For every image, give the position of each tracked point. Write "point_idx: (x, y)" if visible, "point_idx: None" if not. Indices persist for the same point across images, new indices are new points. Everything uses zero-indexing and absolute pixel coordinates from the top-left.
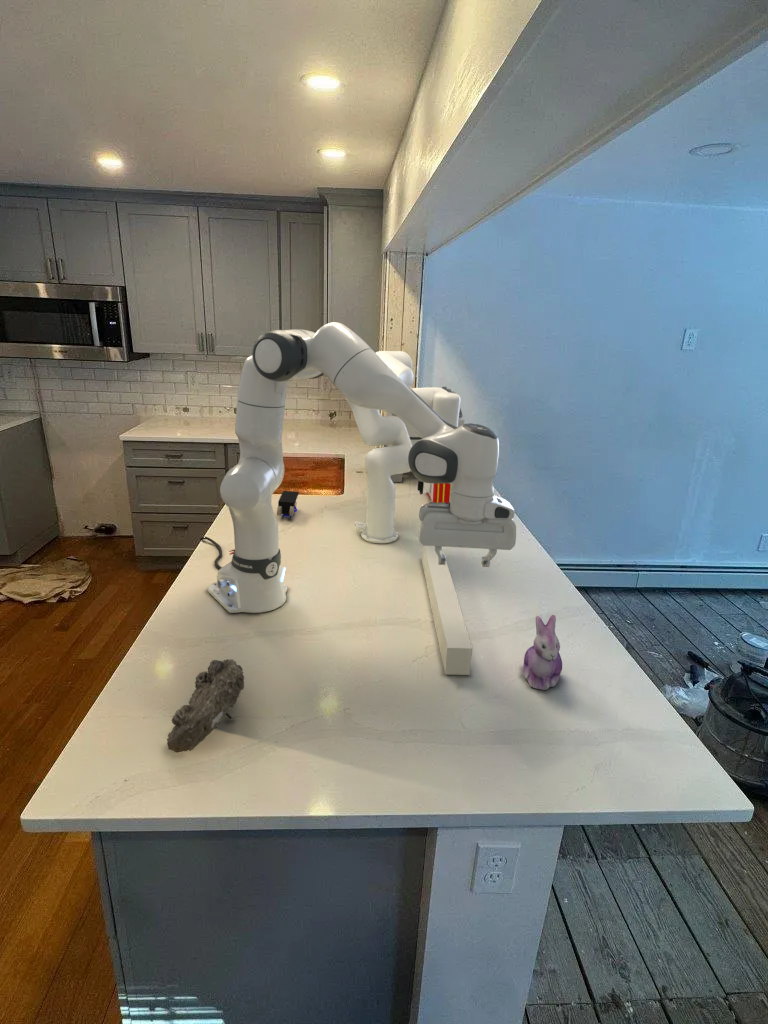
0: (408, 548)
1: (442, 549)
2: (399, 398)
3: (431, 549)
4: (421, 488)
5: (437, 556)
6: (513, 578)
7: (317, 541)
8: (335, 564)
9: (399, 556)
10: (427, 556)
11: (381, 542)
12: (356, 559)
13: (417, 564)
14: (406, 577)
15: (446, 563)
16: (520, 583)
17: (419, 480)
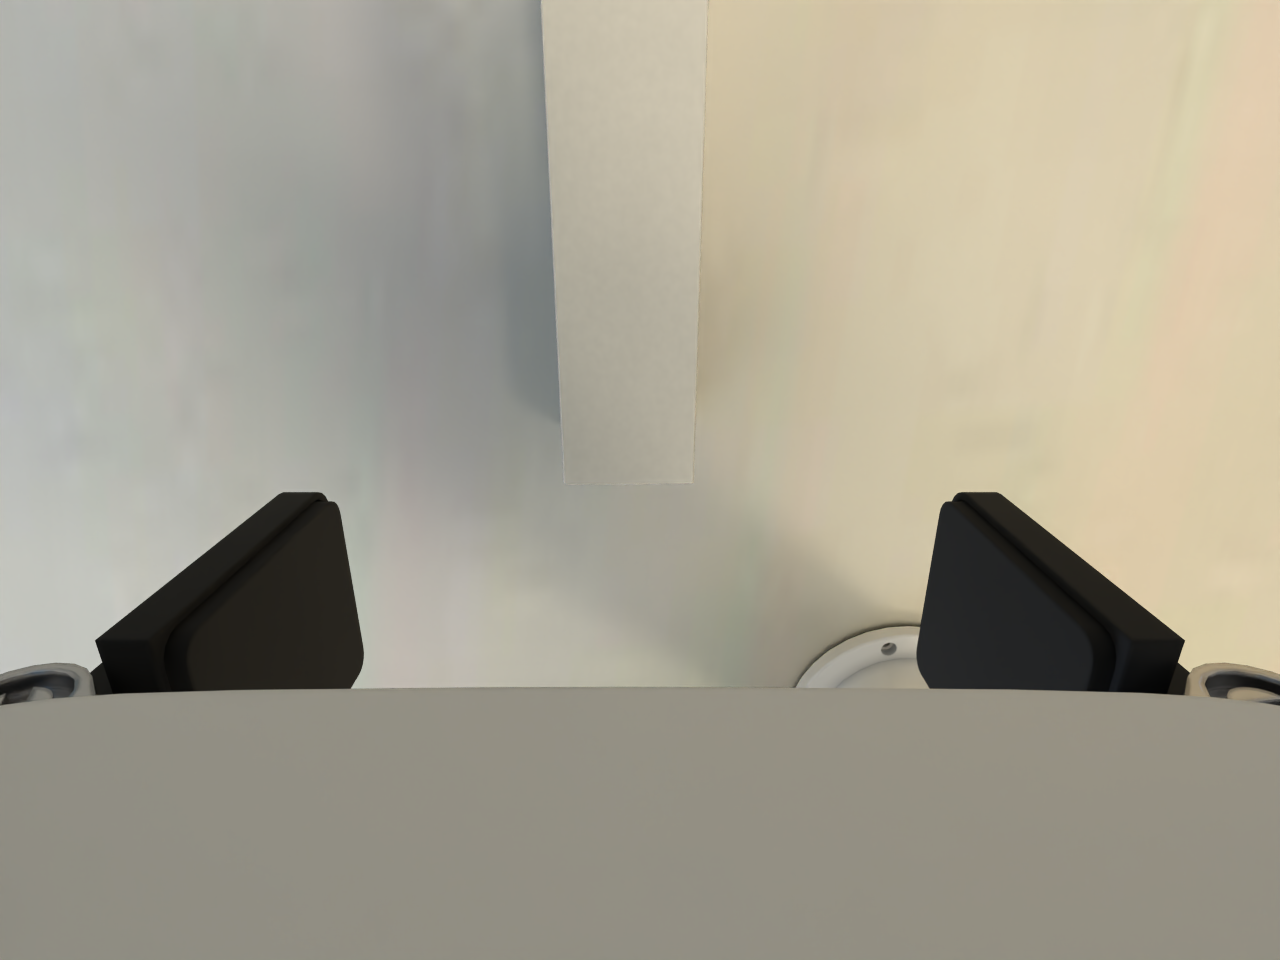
0: (741, 580)
1: (557, 317)
2: None
3: (647, 309)
4: (1049, 544)
5: (611, 161)
6: (75, 189)
7: (1256, 627)
8: (1238, 326)
9: (812, 470)
10: (697, 155)
11: (897, 629)
12: (1087, 408)
13: (714, 364)
14: (814, 154)
15: (544, 2)
16: (18, 106)
17: (1247, 697)
